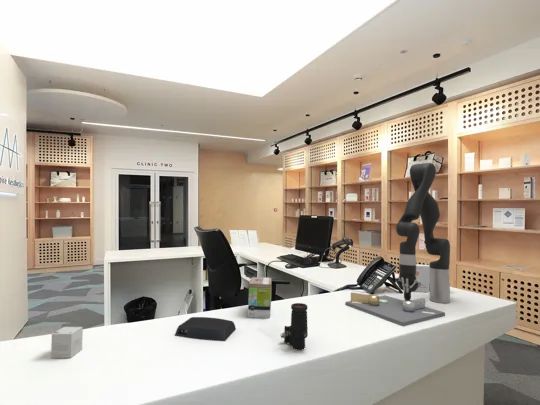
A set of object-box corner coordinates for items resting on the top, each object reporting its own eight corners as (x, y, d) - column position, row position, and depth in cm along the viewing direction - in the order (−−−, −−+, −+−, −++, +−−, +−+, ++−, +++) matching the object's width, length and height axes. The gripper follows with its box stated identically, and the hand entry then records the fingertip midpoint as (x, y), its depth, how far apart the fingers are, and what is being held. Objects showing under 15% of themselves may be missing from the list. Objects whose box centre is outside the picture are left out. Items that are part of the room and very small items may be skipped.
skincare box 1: (82, 349, 97) (83, 326, 97) (70, 358, 90) (71, 333, 91) (63, 349, 96) (64, 326, 97) (49, 358, 90) (51, 333, 91)
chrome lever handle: (410, 312, 135) (410, 303, 135) (400, 309, 139) (400, 300, 139) (428, 308, 141) (428, 299, 141) (418, 305, 145) (418, 297, 146)
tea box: (270, 318, 129) (271, 283, 130) (247, 318, 129) (248, 283, 130) (271, 308, 144) (271, 276, 145) (250, 307, 144) (250, 276, 145)
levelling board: (385, 298, 165) (385, 293, 165) (445, 315, 136) (445, 310, 136) (345, 304, 151) (345, 300, 151) (403, 326, 122) (402, 320, 122)
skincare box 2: (411, 292, 180) (411, 265, 181) (408, 289, 185) (408, 263, 186) (449, 294, 177) (449, 266, 177) (446, 291, 182) (445, 265, 183)
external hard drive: (190, 325, 121) (191, 314, 121) (236, 329, 117) (237, 319, 117) (173, 337, 108) (173, 326, 108) (224, 343, 104) (224, 331, 104)
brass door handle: (380, 303, 148) (380, 295, 148) (378, 306, 143) (378, 297, 144) (352, 299, 154) (352, 291, 154) (349, 301, 150) (349, 293, 150)
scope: (299, 299, 109) (316, 306, 100) (299, 338, 108) (316, 349, 99) (280, 302, 105) (295, 310, 96) (279, 342, 104) (295, 354, 95)
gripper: (425, 265, 142) (425, 302, 141) (400, 261, 154) (400, 296, 153) (415, 265, 138) (415, 304, 137) (390, 262, 150) (390, 297, 149)
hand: (407, 299), depth 145 cm, fingers closed
